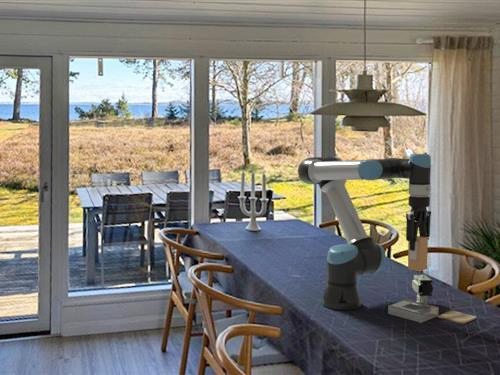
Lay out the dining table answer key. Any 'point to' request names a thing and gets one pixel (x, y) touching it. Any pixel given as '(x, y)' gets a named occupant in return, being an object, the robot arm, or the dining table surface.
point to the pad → (457, 317)
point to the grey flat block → (413, 310)
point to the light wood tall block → (419, 255)
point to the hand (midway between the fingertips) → (417, 257)
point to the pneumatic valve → (422, 287)
